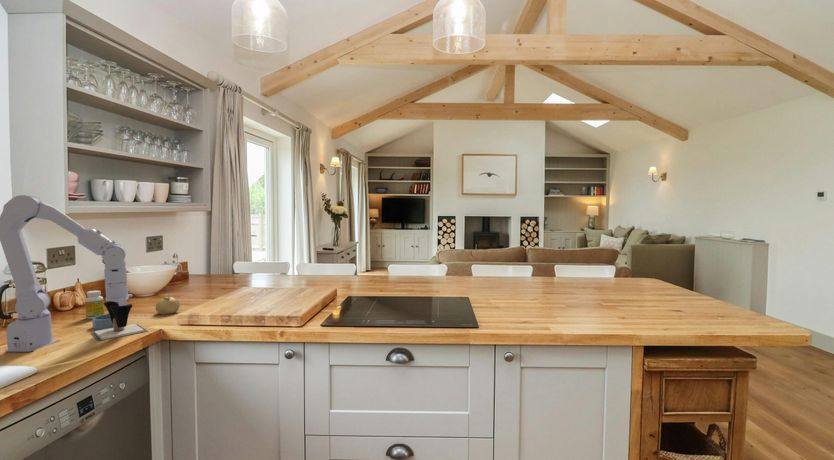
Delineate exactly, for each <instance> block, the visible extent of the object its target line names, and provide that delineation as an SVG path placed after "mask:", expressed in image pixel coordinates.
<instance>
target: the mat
mask: <svg viewBox="0 0 834 460" xmlns="http://www.w3.org/2000/svg"><path fill="white" fill-rule="evenodd" d="M136 325H137V326H139V327H140V328H142V329H143V330H144V332H140V333H135V334H130V335H125V336H120V337H115V338H110V339H105V340H101V339H100V338H99V337H98V336H97V335H96V334H95V333H94V332H90V333H89V334H90V335H91V336H92V337H93V338H94V339H95V341H97V342H99V343H100V342H105V341H110V340H114V339H119V338H124V337H128V336H134V335H138V334H145V333H148V332H149V331H148V330H147V329H145V328H144V327H142V326H141V325H139V324H136Z"/></svg>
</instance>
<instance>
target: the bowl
mask: <svg viewBox="0 0 834 460" xmlns="http://www.w3.org/2000/svg"><path fill="white" fill-rule="evenodd" d="M91 321H92V322H91V323H92V329H93V330H104V329H109V328H114V326H113V323H112V321H111V318H110V315H109V313H106V314H105V313H104V315H100V316H97V317H94V318H93V319H91Z"/></svg>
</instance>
